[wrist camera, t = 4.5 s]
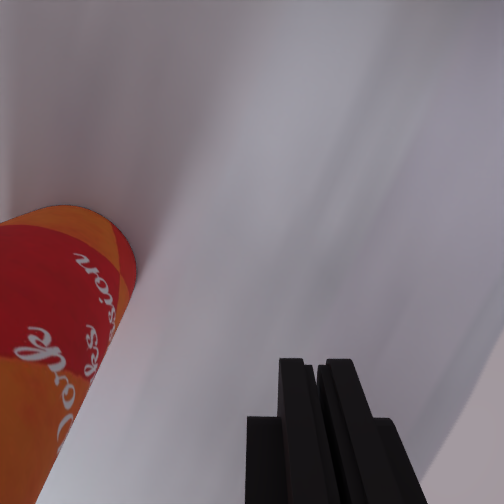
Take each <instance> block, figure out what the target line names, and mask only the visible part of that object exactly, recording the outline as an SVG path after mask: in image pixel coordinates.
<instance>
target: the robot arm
mask: <svg viewBox="0 0 504 504" xmlns="http://www.w3.org/2000/svg"><path fill="white" fill-rule="evenodd" d="M245 504H428V503H427V501H426V499H425V496H424V494H423V492H422V489H421V487H420V484H419V482H418V479H417V477H416V475H415V472H414V470H413V468H412V465H411V463H410V460H409V458H408V456H407V453H406V451H405V449H404V446H403V444H402V441H401V439H400V437H399V434H398V432H397V429H396V427H395V425H394V423H393V421H392V420H391V419H390V418H373V417H372V414H371V411H370V408H369V405H368V403H367V400H366V397H365V394H364V392H363V389H362V386H361V383H360V381H359V378H358V375H357V372H356V370H355V367H354V364H353V362H352V360H351V359H327V361H326V365H318V371H317V385H316V381H315V377H314V372H313V367H312V365H304V362H303V359H302V358H280V359H279V379H278V410H277V417H256V416H247V444H246V481H245Z"/></svg>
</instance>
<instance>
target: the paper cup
mask: <svg viewBox="0 0 504 504" xmlns="http://www.w3.org/2000/svg"><path fill="white" fill-rule="evenodd" d="M135 281H136V262H135V257H134V254H133V251H132V249H131V247H130V245H129V243H128V241H127V239H126V238H125V236H124V235H123V234H122V233H121V231H120V230H119V229H118V228H117V227H116V226H115V225H114V224H113V223H111V222H110V221H109V220H108V219H106V218H105V217H103V216H101V215H100V214H98V213H96V212H94V211H91V210H89V209H86V208H82V207H78V206H71V205H58V206H51V207H46V208H42V209H39V210H36V211H33V212H30V213H27V214H24V215H21V216H18V217H16V218H13V219H10V220H8V221H5V222H3V223H0V504H35V503H36V501H37V498H38V496H39V494H40V492H41V490H42V488H43V486H44V484H45V481H46V479H47V477H48V475H49V473H50V471H51V469H52V467H53V464H54V462H55V460H56V458H57V456H58V454H59V452H60V450H61V447H62V445H63V443H64V441H65V439H66V437H67V435H68V433H69V430H70V428H71V426H72V424H73V422H74V420H75V418H76V416H77V414H78V411H79V409H80V407H81V405H82V403H83V401H84V399H85V397H86V394H87V392H88V390H89V388H90V386H91V384H92V382H93V379H94V377H95V375H96V373H97V371H98V369H99V367H100V364H101V362H102V360H103V358H104V356H105V354H106V352H107V349H108V347H109V345H110V343H111V341H112V339H113V336H114V334H115V332H116V330H117V328H118V325H119V323H120V321H121V319H122V317H123V315H124V312H125V310H126V307H127V305H128V303H129V300H130V298H131V295H132V292H133V290H134V286H135Z"/></svg>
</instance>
